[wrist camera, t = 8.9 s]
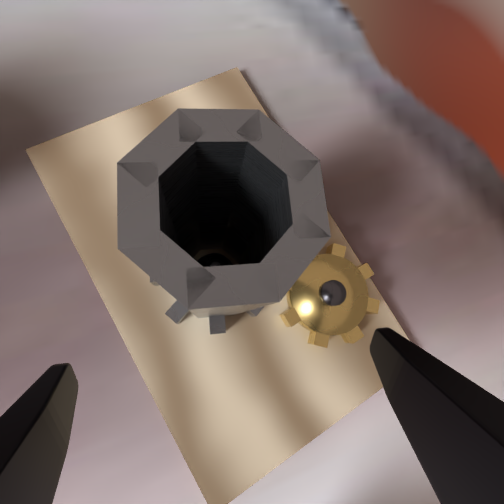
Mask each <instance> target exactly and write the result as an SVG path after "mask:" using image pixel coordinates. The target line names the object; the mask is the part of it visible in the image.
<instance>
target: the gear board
mask: <svg viewBox="0 0 504 504" xmlns="http://www.w3.org/2000/svg"><path fill="white" fill-rule="evenodd" d="M178 108H186V109H259V110H260V111H261V112H263V113H264V114H265V115H266V116H267V117H268V115H267V114H266V112H265V110H264V109H263V107H262V106H261V104H260V103H259V101H258V99H257V98H256V96H255V95H254V93H253V91H252V90H251V88H250V87H249V85H248V83H247V82H246V80H245V79H244V77H243V76H242V74H241V72H240V71H239V69H238V68H237V67H236V68H234V69H231V70H229V71H226V72H224V73H221V74H218V75H216V76H213V77H211V78H208V79H206V80H203V81H200V82H198V83H195V84H193V85H190V86H187V87H185V88H182V89H180V90H177V91H175V92H172V93H169V94H167V95H164V96H162V97H159V98H157V99H154V100H151V101H149V102H146V103H144V104H141V105H139V106H136V107H133V108H131V109H128V110H126V111H123V112H121V113H118V114H115V115H113V116H110V117H108V118H105V119H103V120H100V121H97V122H95V123H92V124H90V125H87V126H85V127H82V128H79V129H77V130H74V131H72V132H69V133H66V134H64V135H61V136H59V137H56V138H54V139H51V140H48V141H46V142H43V143H41V144H38V145H36V146H33V147H30V148H28V149H25V150H26V152H27V154H28V156H29V158H30V160H31V162H32V163H33V165H34V167H35V169H36V171H37V173H38V175H39V177H40V179H41V181H42V183H43V185H44V187H45V189H46V191H47V193H48V195H49V196H50V198H51V200H52V202H53V204H54V206H55V208H56V210H57V212H58V214H59V216H60V218H61V220H62V222H63V224H64V226H65V228H66V230H67V231H68V233H69V235H70V237H71V239H72V241H73V243H74V245H75V247H76V249H77V251H78V253H79V255H80V257H81V259H82V261H83V263H84V265H85V266H86V268H87V270H88V272H89V274H90V276H91V278H92V280H93V282H94V284H95V286H96V288H97V290H98V292H99V294H100V296H101V298H102V300H103V301H104V303H105V305H106V307H107V309H108V311H109V313H110V315H111V317H112V319H113V321H114V323H115V325H116V327H117V329H118V331H119V333H120V335H121V336H122V338H123V340H124V342H125V344H126V346H127V348H128V350H129V352H130V354H131V356H132V358H133V360H134V362H135V364H136V366H137V368H138V369H139V371H140V373H141V375H142V377H143V379H144V381H145V383H146V385H147V387H148V389H149V391H150V393H151V395H152V397H153V399H154V401H155V403H156V404H157V406H158V408H159V410H160V412H161V414H162V416H163V418H164V420H165V422H166V424H167V426H168V428H169V430H170V432H171V434H172V436H173V438H174V439H175V441H176V443H177V445H178V447H179V449H180V451H181V453H182V455H183V457H184V459H185V461H186V463H187V465H188V467H189V469H190V471H191V473H192V474H193V476H194V478H195V480H196V482H197V484H198V486H199V488H200V490H201V492H202V494H203V496H204V498H205V500H206V502H207V504H228V503H229V502H231V501H232V500H233V499H235V498H236V497H237V496H239V495H240V494H241V493H243V492H244V491H245V490H247V489H248V488H249V487H251V486H252V485H253V484H255V483H256V482H257V481H259V480H260V479H261V478H263V477H264V476H265V475H267V474H268V473H269V472H271V471H272V470H273V469H275V468H276V467H277V466H279V465H280V464H281V463H283V462H284V461H285V460H287V459H288V458H289V457H291V456H292V455H293V454H295V453H296V452H297V451H299V450H300V449H301V448H303V447H304V446H305V445H307V444H308V443H309V442H311V441H312V440H313V439H315V438H316V437H317V436H319V435H320V434H321V433H323V432H324V431H325V430H327V429H328V428H329V427H331V426H332V425H333V424H335V423H336V422H337V421H339V420H340V419H341V418H343V417H344V416H345V415H347V414H348V413H349V412H351V411H352V410H353V409H355V408H356V407H357V406H359V405H360V404H361V403H363V402H364V401H365V400H367V399H368V398H369V397H371V396H372V395H373V394H375V393H376V392H377V391H379V390H380V389H381V388H383V385H382V383H381V380H380V377H379V375H378V372H377V370H376V367H375V364H374V362H373V359H372V357H371V354H370V343H371V340H372V337H373V334H374V331H375V330H376V329H377V328H384V327H388V328H391V329H392V330H394V331H396V332H397V333H399V334H400V335H402V336H403V337H405V338H406V339H408V337H407V336H406V334H405V332H404V331H403V329H402V328H401V326H400V324H399V323H398V321H397V320H396V318H395V317H394V315H393V313H392V312H391V310H390V309H389V307H388V305H387V304H386V302H385V301H384V299H383V298H382V296H381V294H380V293H379V291H378V290H377V288H376V286H375V285H374V283H373V282H372V280H371V278H370V277H369V278H368V279H366V280H365V281H366V283H367V287H368V293H369V297H370V298H374V299H377V300H380V304H379V311H378V314H365V316H364V318H363V319H362V321H361V322H360V323H359V324H358V326H359V328H360V330H361V331H362V333H363V335H364V337H363V338H361V339H360V340H358V341H357V342H355V343H354V344H351V343H345V342H344V340H343V338H342V337H341V335H330V337H329V342H328V347H327V348H324V347H319V346H315V345H312V344H308V338H309V333H310V331H309V330H307V329H305V328H304V327H302V326H301V325H300V324H299V323H297V324H295V325H294V326H292V327H286V326H285V324H284V322H283V320H282V319H281V317H280V314H281V313H283V312H285V311H286V310H288V309H289V307H288V303H287V296H286V295H285V296H284V297H283V298H282V300H281V301H280V302H277V303H274V304H270V305H267V306H264V308H263V309H262V310H261V311H260V313H259V314H258V315H257V316H256V317H251V316H250V315H249V314H248V313H247V312H242V313H239V314H235V315H229V316H225V326H226V333H220V334H210V330H209V317H207V318H197V317H196V316H195V315H194V314H192V313H191V312H189V313H188V314H187V315H186V316H185V318H184V319H183V320H182V321H181V322H180V323H179V324H176V323H175V322H174V321H173V320H172V319H170V318H169V317H168V316H167V315H166V314H165V313H166V312H167V310H168V309H169V308H170V307H171V306H172V305H173V304H174V303H175V302H176V299H175V298H174V297H173V296H172V295H170V294H169V293H168V292H167V291H166V290H165V289H164V288H162V287H161V286H160V285H159V286H154V285H153V284H151V283H150V276H148V275H147V274H146V273H145V272H144V271H143V270H142V269H140V268H139V267H138V266H137V265H136V264H135V263H133V262H132V261H131V260H130V259H129V258H128V257H127V256H125V255H124V254H123V253H122V252H121V251H120V250H118V246H117V162H118V161H119V160H121V159H122V158H123V157H124V156H125V155H126V154H127V153H128V152H130V151H131V150H132V149H133V148H134V147H135V146H136V145H137V144H139V143H140V142H141V141H142V140H143V139H144V138H145V137H146V136H148V135H149V134H150V133H151V132H152V131H153V130H154V129H155V128H157V127H158V126H159V125H160V124H161V123H162V122H163V121H164V120H165V119H167V118H168V117H169V116H170V115H171V114H172V113H173V112H174V111H176V110H177V109H178ZM327 213H328V220H329V226H330V233H331V238H330V239H329V240H328V241H327V243H326V244H325V245H324V247H323V248H322V249H321V250H320V252H319V253H318V254H317V255H321V254H326V249H327V247H328V246H329V245H331V244H333V243H336V244H339V245H342V246H346V251H345V256H344V258H345V259H347V260H349V261H350V262H352V263H353V264H354V265H355V266H356V267H357V266H359V265H362V264H361V263H360V261H359V259H358V258H357V256H356V255H355V253H354V252H353V250H352V248H351V247H350V245H349V244H348V242H347V240H346V239H345V237H344V236H343V234H342V233H341V231H340V229H339V228H338V226H337V225H336V223H335V221H334V220H333V218H332V217H331V215H330V213H329V212H328V210H327ZM211 253H220V254H222V255H224V256H225V257H226V258H228V259H229V260H230V261H231V263H232V264H233V265H238V262H237V261H236V260H235V259H234V258H232V257H231V256H230V255H229V254H228V253H226V252H225V251H224V250H223V249H206V250H200V251H199V252H198V253H197V254H196V255H195V256H194V257H193V259H195V260H196V261H198V259H200V258H201V257H203V256H205V255H207V254H211ZM317 255H316V256H317ZM408 340H409V339H408ZM409 341H410V340H409Z"/></svg>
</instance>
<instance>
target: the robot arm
mask: <svg viewBox="0 0 504 504" xmlns="http://www.w3.org/2000/svg"><path fill="white" fill-rule="evenodd" d="M370 354H371V357H372V359H373V362H374V364H375V367H376V370H377V372H378V375H379V377H380V380H381V383H382V385H383V388H384V390H385V393H386V395H387V398H388V400H389V402H390V404H391V406H392V408H393V410H394V412H395V414H396V416H397V418H398V420H399V422H400V424H401V426H402V428H403V430H404V432H405V434H406V436H407V438H408V440H409V442H410V444H411V446H412V448H413V450H414V452H415V454H416V456H417V458H418V460H419V462H420V464H421V466H422V468H423V470H424V472H425V473H426V475H427V477H428V479H429V481H430V483H431V485H432V487H433V489H434V491H435V493H436V495H437V497H438V499H439V501H440V503H441V504H504V402H503V401H501V400H500V399H498V398H497V397H495V396H494V395H492V394H491V393H489V392H487V391H486V390H484V389H483V388H481V387H480V386H478V385H477V384H475V383H474V382H472V381H471V380H469V379H468V378H466V377H465V376H463V375H461V374H460V373H458V372H457V371H455V370H454V369H452V368H451V367H449V366H448V365H446V364H445V363H443V362H442V361H440V360H438V359H437V358H435V357H434V356H432V355H431V354H429V353H428V352H426V351H425V350H423V349H422V348H420V347H419V346H417V345H415V344H414V343H412V342H411V341H409V340H408V339H406V338H405V337H403V336H402V335H400V334H399V333H397V332H396V331H394V330H392V329H391V328H388V327H384V328H377V329H376V330H375V331H374V334H373V337H372V340H371V343H370ZM77 393H78V381H77V379H76V376H75V374H74V371H73V369H72V366H71V365H70V364H69V363H63V364H55V365H52V366H51V367H50V368H49V369H48V370H47V371H46V372H45V373H44V374H43V375H42V376H41V377H40V378H39V379H38V380H37V381H36V382H35V383H34V384H33V385H32V386H31V387H30V388H29V389H28V390H27V391H26V392H25V393H24V394H23V395H22V396H21V397H20V398H19V399H18V400H17V401H16V402H15V403H14V404H13V405H12V406H11V407H10V408H9V409H8V410H7V411H6V412H5V413H4V414H3V415H2V416H1V417H0V504H52V502H53V499H54V496H55V492H56V489H57V485H58V482H59V478H60V475H61V471H62V468H63V464H64V461H65V457H66V453H67V449H68V445H69V440H70V434H71V428H72V422H73V417H74V411H75V405H76V399H77Z"/></svg>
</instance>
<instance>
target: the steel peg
mask: <svg viewBox="0 0 504 504" xmlns="http://www.w3.org/2000/svg"><path fill="white" fill-rule="evenodd" d="M197 262H198V263H199V264H200V265H202V266H203V267H211V266H226V265H233V264H232V263H231V261H230V260H229V259H228V258H226V257H225V256H224V255H222V254H220V253H211V254H207V255H205V256H203V257H201V258H200V259H198V261H197Z"/></svg>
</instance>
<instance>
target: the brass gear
mask: <svg viewBox="0 0 504 504" xmlns="http://www.w3.org/2000/svg"><path fill="white" fill-rule="evenodd" d="M345 251H346V246H342V245H339V244H336V243H333V244H331V245H329V246H328V247H327V249H326V254H321V255H317V256H316V257H315V258H314V259H313V260H312V262H311V263H310V264H309V266H308V267H307V268H306V269H305V271H304V272H303V273H302V274H301V276H300V277H299V278H298V279H297V281H296V282H295V283H294V285H293V286H292V287H291V288H290V290H289V291H288V292H287V293H286V296H287V303H288V307H289V309H288V310H286V311H285V312H283V313H281V314H280V317H281V319H282V320H283V322H284V324H285V326H286V327H292V326H294V325H295V324H297V323H299V324H300V325H301V326H302V327H304V328H305V329H307V330H309V331H310V333H309V338H308V344H312V345H315V346H319V347H324V348H327V347H328V342H329V337H330V335H341V337H342V338H343V340H344V342H345V343H351V344H354V343H355V342H357V341H358V340H360V339H361V338H363V337H364V335H363V333H362V331H361V330H360V328H359V326H358V324H359V323H360V322H361V321H362V319H363V318H364V316H365V314H378V311H379V304H380V300H377V299H374V298H370V297H369V293H368V287H367V283H366V281H365V280H366V279H368V278H369V277H371V276H372V275H374V273H373V271H372V270H371V268H370V266H369V265H368V263H364V264H362V265H359V266H357V267H356V266H355V265H354V264H353V263H352V262H350V261H349V260H347V259H345V258H344V256H345Z"/></svg>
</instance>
